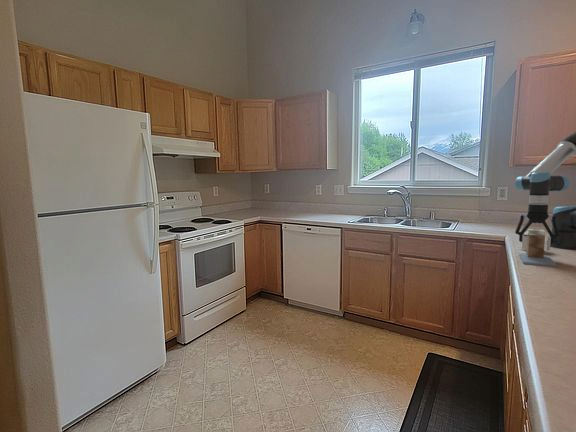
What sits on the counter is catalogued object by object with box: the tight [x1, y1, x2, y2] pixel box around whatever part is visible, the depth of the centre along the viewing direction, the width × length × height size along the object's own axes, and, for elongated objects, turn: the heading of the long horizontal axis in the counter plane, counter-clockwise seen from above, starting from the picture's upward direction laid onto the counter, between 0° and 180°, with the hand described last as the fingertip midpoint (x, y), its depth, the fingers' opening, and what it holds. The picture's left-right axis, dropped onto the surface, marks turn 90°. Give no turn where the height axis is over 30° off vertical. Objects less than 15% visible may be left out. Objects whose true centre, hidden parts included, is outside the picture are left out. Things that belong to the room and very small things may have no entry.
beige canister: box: [526, 228, 546, 258], centre depth 158 cm, size 6×6×13 cm
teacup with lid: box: [520, 230, 528, 252], centre depth 177 cm, size 12×9×12 cm
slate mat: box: [518, 253, 557, 268], centre depth 155 cm, size 12×18×1 cm, turn 150°
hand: (535, 249), depth 159 cm, fingers open, 9 cm apart
